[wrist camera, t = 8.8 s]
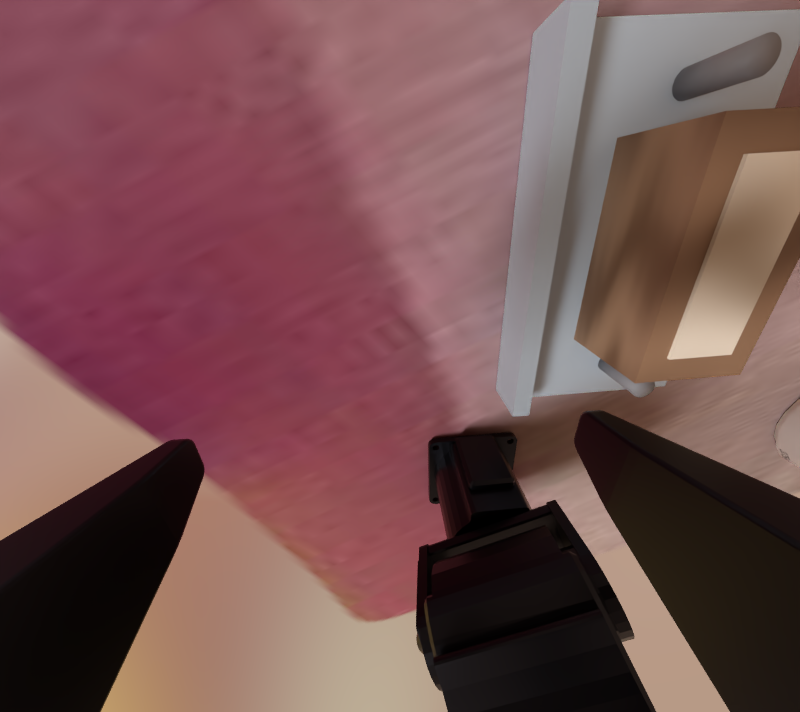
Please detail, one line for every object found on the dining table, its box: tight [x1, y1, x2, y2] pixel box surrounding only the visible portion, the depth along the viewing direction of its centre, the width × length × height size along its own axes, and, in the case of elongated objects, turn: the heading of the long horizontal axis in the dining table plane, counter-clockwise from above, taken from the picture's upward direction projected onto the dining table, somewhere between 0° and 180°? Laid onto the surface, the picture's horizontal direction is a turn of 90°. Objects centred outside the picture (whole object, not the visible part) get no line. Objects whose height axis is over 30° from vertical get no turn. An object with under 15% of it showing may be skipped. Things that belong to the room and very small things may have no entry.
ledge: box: [496, 0, 800, 417], centre depth 16 cm, size 18×11×4 cm, turn 3°
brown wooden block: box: [574, 107, 800, 383], centre depth 14 cm, size 10×5×5 cm, turn 3°
